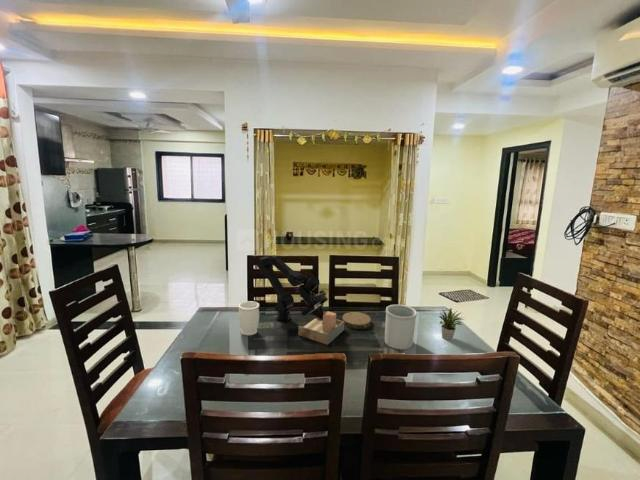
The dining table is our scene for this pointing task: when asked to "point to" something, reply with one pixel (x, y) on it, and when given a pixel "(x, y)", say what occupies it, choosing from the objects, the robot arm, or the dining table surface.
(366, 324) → the wood slice
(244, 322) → the jar
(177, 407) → the dining table surface
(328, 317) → the terracotta block
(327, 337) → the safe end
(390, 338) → the utensil holder
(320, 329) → the board
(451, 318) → the house plant
